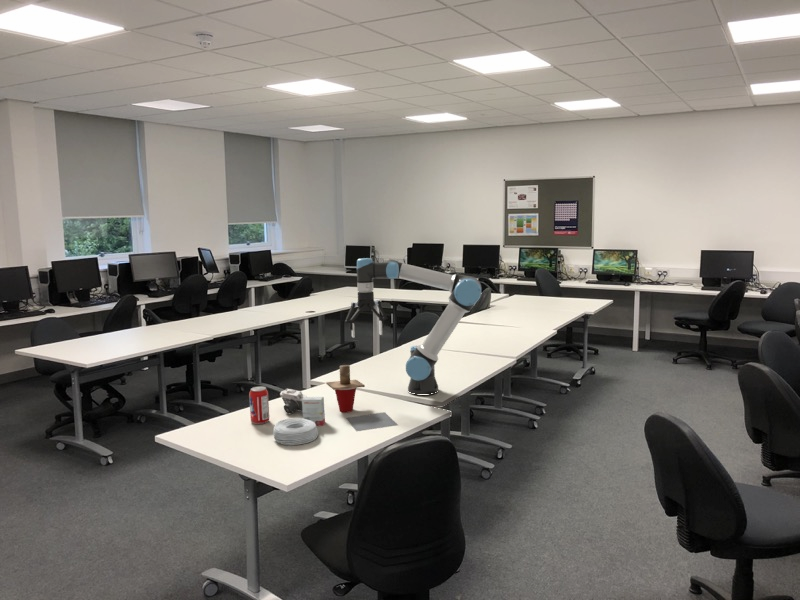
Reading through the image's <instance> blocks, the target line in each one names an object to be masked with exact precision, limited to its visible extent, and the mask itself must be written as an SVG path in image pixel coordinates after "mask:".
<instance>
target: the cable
mask: <svg viewBox="0 0 800 600" xmlns="http://www.w3.org/2000/svg"><path fill="white" fill-rule="evenodd" d="M318 434H319V431H318V428H317V427H316V424H315V423H314V422H312V421H310V420H307V419H303V417H292V418H286V419H285V418H284V419H282V420H279V421H278V422H276V423H275V425H274V427H273V439H274V440H275V442H276V443H278V444H281V445H285V446H298V445H303V444H308V443H312V442H313V441H314V440H317V437H318Z"/></svg>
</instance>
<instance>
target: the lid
mask: <svg viewBox="0 0 800 600" xmlns="http://www.w3.org/2000/svg"><path fill="white" fill-rule="evenodd" d="M350 367H351V365H350V364H341V365H339V380H337V381H336V380H335V381H326V385H327V386H328V387H329V388H330V389H332V390H334V391H335V390H337V389H348V388H356V389H357V388H365V384H363V383H362V382H361V381H360V380H358V379H351V370H350V369H351V368H350Z"/></svg>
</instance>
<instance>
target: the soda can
mask: <svg viewBox="0 0 800 600" xmlns="http://www.w3.org/2000/svg"><path fill="white" fill-rule="evenodd" d="M248 398H249V411H250V413H249V414H250V422H251V423H253V424H254V425H262V424H266V423H267V422H269V420H270V406H269V405H270V404H269V402H270V401H269V391H268V390H267V387H266V386H262V385H261V386H253V387H252V388H250V391H249V394H248Z"/></svg>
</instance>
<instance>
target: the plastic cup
mask: <svg viewBox="0 0 800 600" xmlns="http://www.w3.org/2000/svg"><path fill="white" fill-rule="evenodd" d="M334 391H335V396H336V399H337V400H336V402H337V405H338V409H339V410H338V411H339V412H341V413H351V412H352V411H354V404H355V398H356V397H355V396H356V391H357V388H348V389H337V390H334Z"/></svg>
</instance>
